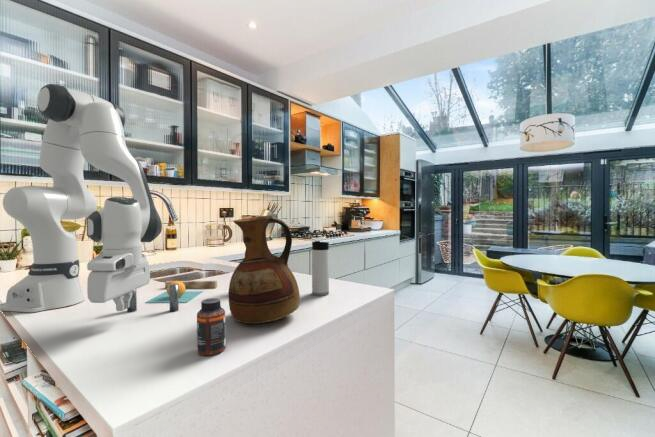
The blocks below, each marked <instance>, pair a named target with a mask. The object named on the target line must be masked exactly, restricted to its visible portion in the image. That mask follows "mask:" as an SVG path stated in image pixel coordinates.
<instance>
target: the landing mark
mask: <svg viewBox="0 0 655 437" xmlns="http://www.w3.org/2000/svg"><path fill="white" fill-rule="evenodd" d="M202 293H203V291H201V290H200V291H198V290H195V291H193V290H192V291H186V290H185V293H184V294H183V295H182V296H181V297H179V298H178V303H179V304H182V303H183V304H187V303H189V302H190V301H192V300H193V299H195V298H196V297H198V296H199V295H200V294H202ZM194 297H195V298H194ZM144 303H145V304H170V300H169V295H168V294H167V291H164V292H162V293H161V294H158V295H157V296H155V297H153V298H151V299H149V300H146V301H145V302H144Z"/></svg>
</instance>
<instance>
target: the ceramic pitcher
mask: <svg viewBox="0 0 655 437" xmlns="http://www.w3.org/2000/svg"><path fill="white" fill-rule="evenodd" d="M233 223H234V224H235V225H236V226H238V227H239V228H240V230H241V231H242V241H243V244H244V246H245V252H244V258H243V259H242V260H241V262H239V264H238V265H237V266H236V268H235V269H234V270H233V273H232V275H231V277H230V280H229V286H228V293H227V294H228V295H227V296H228V306H229V311H230V314H231V316H232V318H233V319H234V320H236V321H238V322H240V323H244V324H245V323H246V324H261V323H262V324H263V323H268V322H271V321H278V320H279V319H282V318H285V317H286V316H289V315H291V314H293V313H295V311H297V310H298V309H299V307H300V303H301V302H300V300H301V295H300V289H299V286H298V285H299V284H298V282H297V279H296V277H295V275H294V274H293V271H292V270H291V269H290V267H289V265H288V263H289V262H288V261H289V258H290V253H291V249H292V245H293V238H292V237H293V236H292V232H291V229H290V227H289V226H288V224H286V222H285V221H283V220H282V219H280V218H278V217H277V216H273V215H271V214H268V215H261V216H256V217H248V218H247V217H245V218H241V219H240V218H239V219H235V220H233ZM272 223H273V224H274V223H276V224H278V225H280V226H281V228H282V229H283V231H284V235H285V236H284V237H285V243H284V248H283V251H282V253H281V255H280V256H277V255H275V254H273V253H272V252H271V250H270V248H269V246H268V241H267V228H268V225H269V224H272Z"/></svg>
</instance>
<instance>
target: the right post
mask: <svg viewBox="0 0 655 437" xmlns="http://www.w3.org/2000/svg"><path fill="white" fill-rule="evenodd" d="M169 300H170V303H169V312H171V313H174V312H179V310H180V309H179V304H180V303H178V284H171V285H169Z"/></svg>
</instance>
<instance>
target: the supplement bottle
mask: <svg viewBox="0 0 655 437" xmlns="http://www.w3.org/2000/svg"><path fill="white" fill-rule="evenodd" d="M200 303H201V306H200V307H201V308H200V310H198V311H197V313H196V339H197V340H196V341H197V345H196V346H197V353H198V354H199V355H201V356H215V355H217V354H220V353H222V352H223V351H224V350H225V349H226V348H227V347H226V343H227V342H226V341H227V340H226V338H227V336H226V310H225V309H224V308H223V307H222V306H221V305H222V304H221V299H220V298H217V297H212V298H210V297H209V298H206V299H203V300H201V302H200Z"/></svg>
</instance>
